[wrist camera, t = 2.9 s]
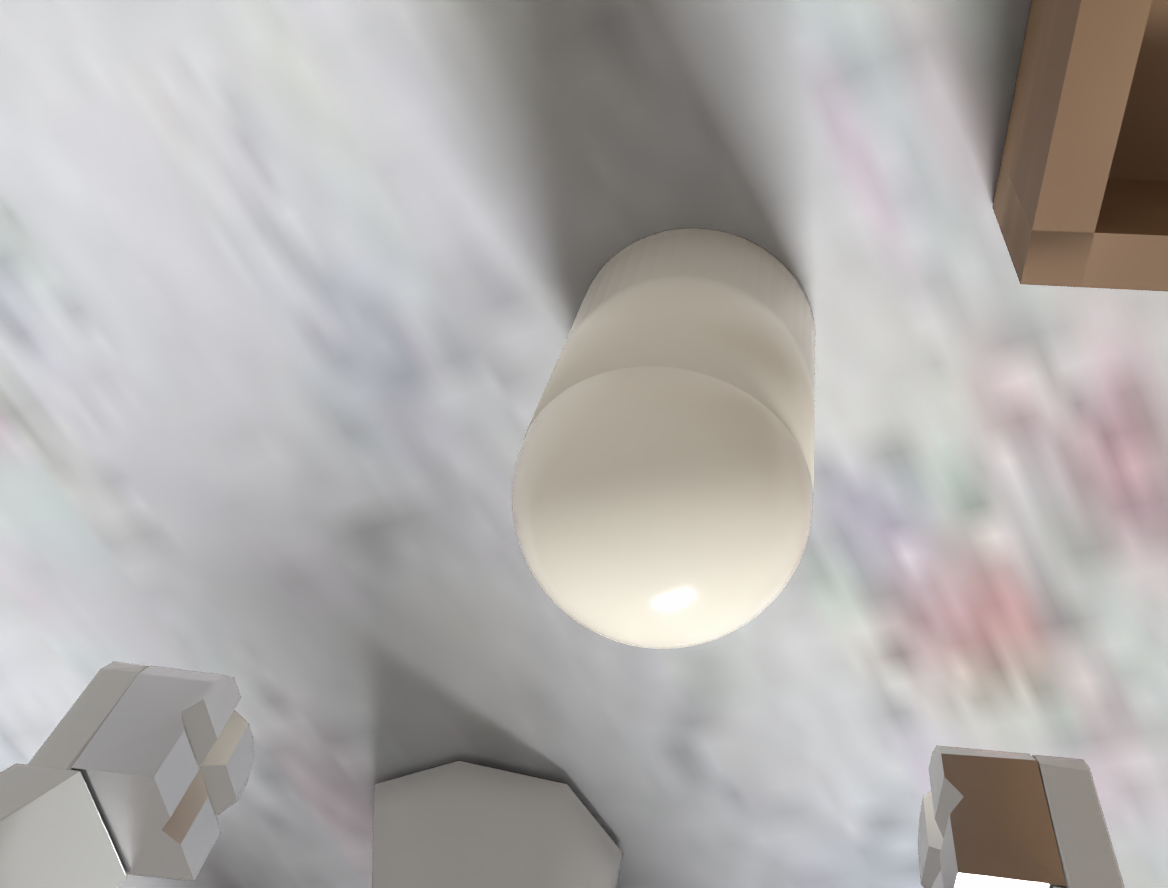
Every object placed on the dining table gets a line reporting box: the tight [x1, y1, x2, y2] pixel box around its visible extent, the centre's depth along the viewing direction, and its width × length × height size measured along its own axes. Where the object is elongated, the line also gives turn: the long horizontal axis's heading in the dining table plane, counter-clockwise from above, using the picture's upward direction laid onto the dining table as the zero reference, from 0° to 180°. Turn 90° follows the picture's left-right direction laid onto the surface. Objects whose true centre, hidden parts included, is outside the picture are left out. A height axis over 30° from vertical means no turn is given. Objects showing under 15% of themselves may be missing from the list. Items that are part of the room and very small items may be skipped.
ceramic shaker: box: [512, 228, 816, 649], centre depth 17 cm, size 4×4×7 cm
